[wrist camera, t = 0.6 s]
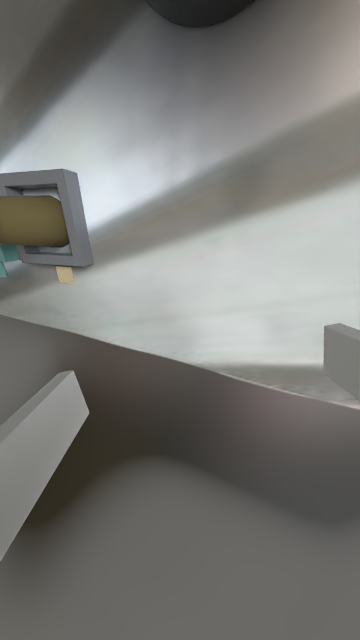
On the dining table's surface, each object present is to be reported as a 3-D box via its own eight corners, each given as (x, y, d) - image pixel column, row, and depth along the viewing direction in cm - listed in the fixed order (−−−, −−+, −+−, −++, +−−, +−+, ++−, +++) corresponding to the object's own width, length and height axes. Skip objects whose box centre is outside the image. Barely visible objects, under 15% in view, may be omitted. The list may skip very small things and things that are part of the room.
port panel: (-60, 182, 28) (-80, 179, 26) (76, 173, 22) (62, 168, 20) (-20, 274, 33) (-34, 277, 31) (97, 285, 28) (87, 289, 26)
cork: (80, 221, 24) (-22, 218, 15) (62, 256, 27) (-34, 272, 18) (43, 183, 24) (-91, 153, 14) (28, 223, 26) (-92, 220, 17)
